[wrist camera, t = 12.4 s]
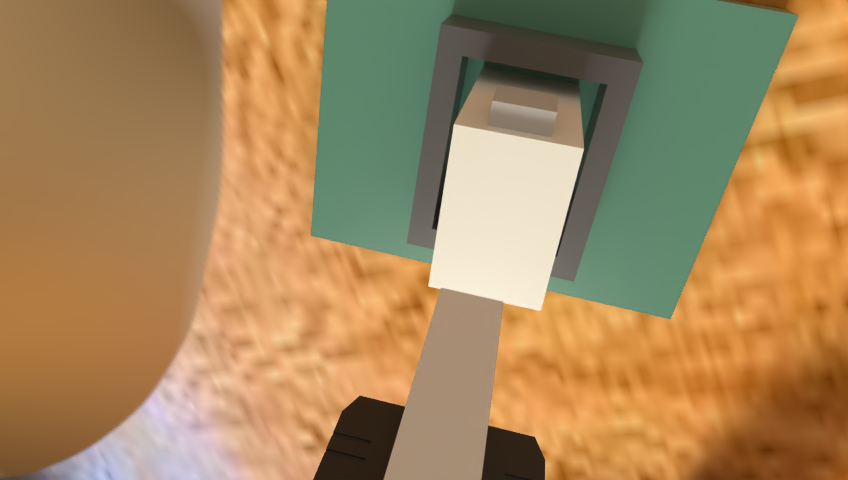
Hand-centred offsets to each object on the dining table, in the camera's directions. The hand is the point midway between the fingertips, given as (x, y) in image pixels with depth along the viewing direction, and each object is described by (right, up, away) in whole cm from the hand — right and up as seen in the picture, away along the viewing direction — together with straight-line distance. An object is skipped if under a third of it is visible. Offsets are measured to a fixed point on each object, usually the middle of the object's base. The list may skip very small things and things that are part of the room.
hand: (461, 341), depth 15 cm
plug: (+3, +7, +12) cm, 14 cm away
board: (+3, +7, +14) cm, 16 cm away
